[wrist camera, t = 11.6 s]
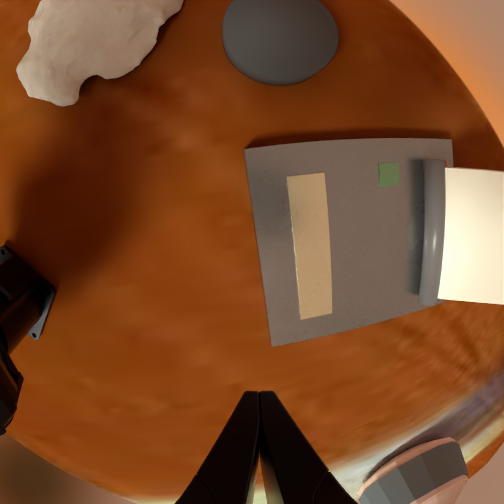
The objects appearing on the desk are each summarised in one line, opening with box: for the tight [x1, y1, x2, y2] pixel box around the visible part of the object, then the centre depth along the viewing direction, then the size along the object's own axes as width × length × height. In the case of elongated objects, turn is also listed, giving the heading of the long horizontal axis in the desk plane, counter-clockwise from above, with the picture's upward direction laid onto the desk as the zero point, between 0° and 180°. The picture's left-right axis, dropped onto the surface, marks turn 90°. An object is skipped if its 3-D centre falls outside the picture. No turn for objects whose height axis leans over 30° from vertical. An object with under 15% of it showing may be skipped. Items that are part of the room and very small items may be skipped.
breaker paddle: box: [418, 159, 504, 306], centre depth 16 cm, size 2×11×11 cm
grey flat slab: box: [243, 138, 453, 347], centre depth 20 cm, size 16×14×1 cm
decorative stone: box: [16, 0, 184, 106], centre depth 12 cm, size 11×4×15 cm
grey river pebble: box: [223, 0, 339, 86], centre depth 14 cm, size 7×7×2 cm
